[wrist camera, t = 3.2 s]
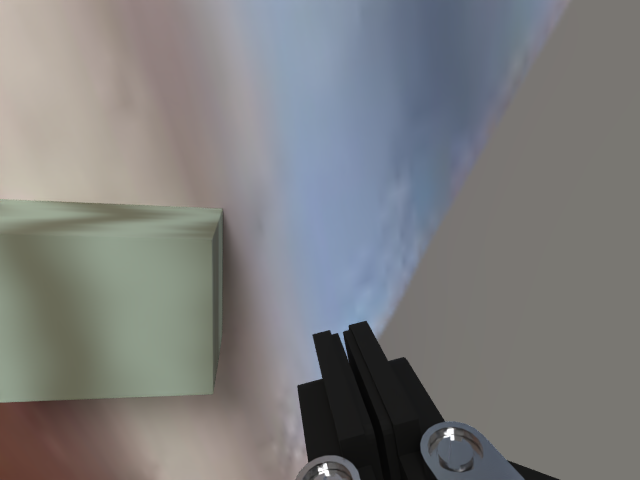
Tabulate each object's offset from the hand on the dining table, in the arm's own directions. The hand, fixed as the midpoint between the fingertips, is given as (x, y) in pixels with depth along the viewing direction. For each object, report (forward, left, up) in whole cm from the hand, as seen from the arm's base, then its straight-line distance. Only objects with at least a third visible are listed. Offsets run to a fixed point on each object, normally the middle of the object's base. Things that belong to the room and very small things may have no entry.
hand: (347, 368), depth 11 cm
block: (+11, -1, -12) cm, 16 cm away
